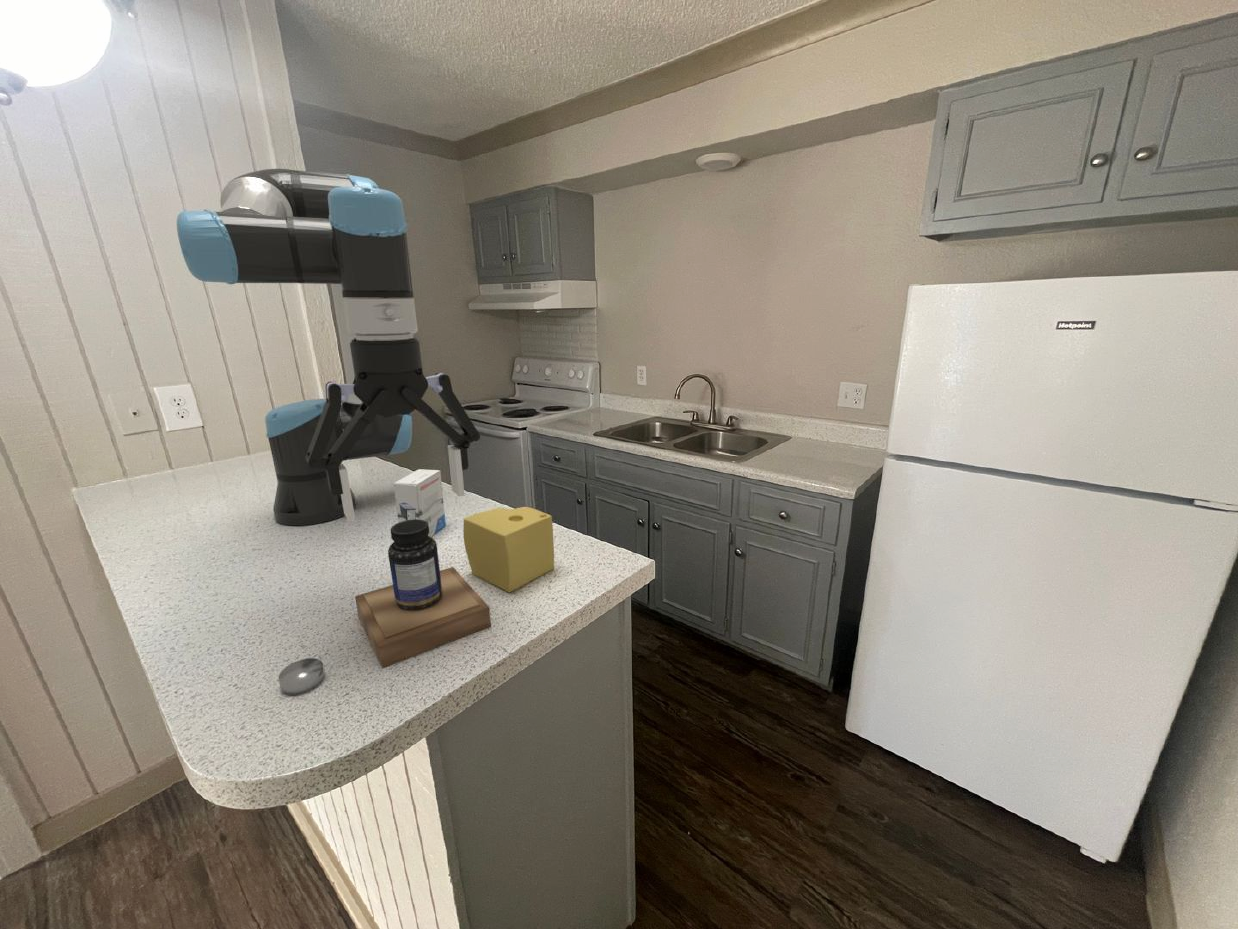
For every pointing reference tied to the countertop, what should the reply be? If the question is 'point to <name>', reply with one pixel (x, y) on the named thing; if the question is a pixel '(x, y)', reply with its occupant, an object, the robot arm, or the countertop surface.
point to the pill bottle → (414, 565)
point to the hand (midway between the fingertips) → (407, 504)
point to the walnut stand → (421, 619)
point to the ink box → (421, 499)
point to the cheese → (509, 545)
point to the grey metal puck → (301, 676)
